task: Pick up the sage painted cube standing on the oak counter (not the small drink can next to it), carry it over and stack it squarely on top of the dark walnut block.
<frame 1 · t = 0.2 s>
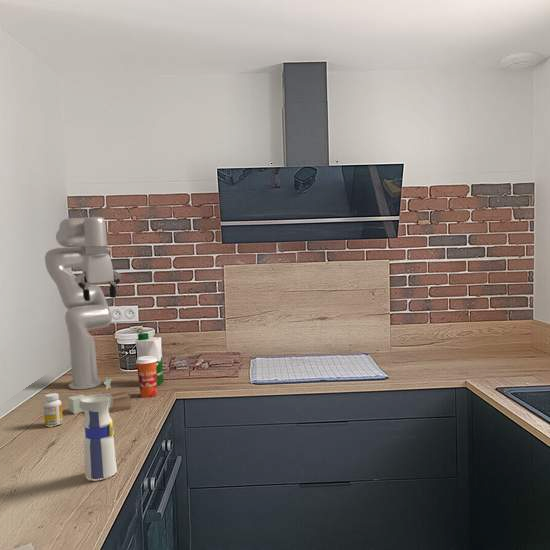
hand: (100, 299, 222), 36 cm above the worktop, tool pointing down, fingers open, 9 cm apart
milk carton: (151, 384, 242), on the worktop
sage block: (79, 411, 209), on the worktop
supplement bottle: (54, 425, 196), on the worktop
paper cup: (148, 396, 226), on the worktop
water bottle: (102, 475, 153), on the worktop
walnut block: (111, 410, 210), on the worktop
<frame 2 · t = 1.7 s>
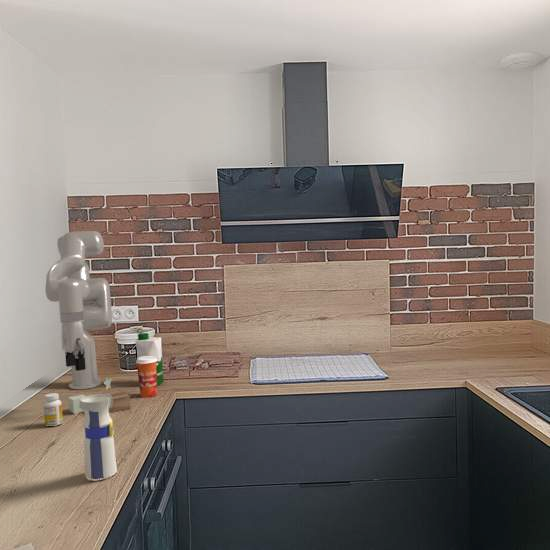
hand: (75, 367, 208), 15 cm above the worktop, tool pointing down, fingers open, 9 cm apart
nothing on the worktop moved.
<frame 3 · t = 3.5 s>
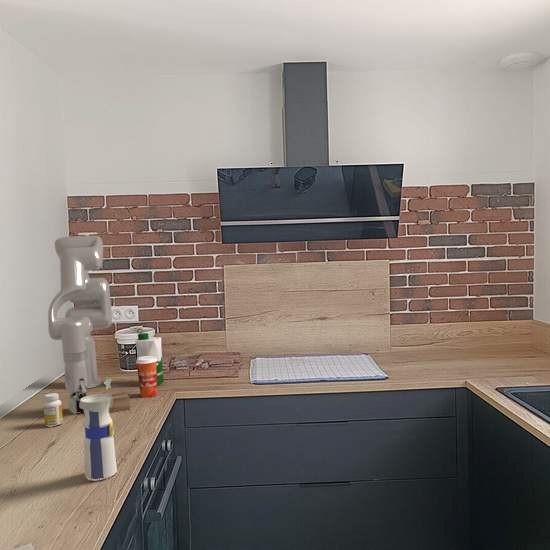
hand: (79, 409, 209), 1 cm above the worktop, tool pointing down, fingers closed on sage block, 5 cm apart
sage block: (79, 411, 209), on the worktop, touching gripper
everything else where it was.
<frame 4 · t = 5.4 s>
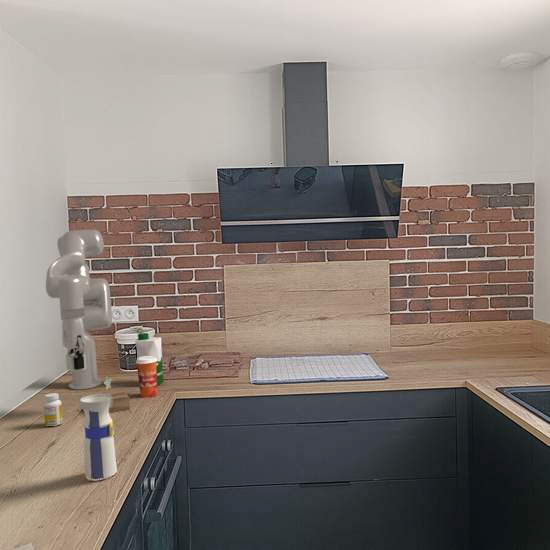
hand: (76, 367, 208), 15 cm above the worktop, tool pointing down, fingers closed on sage block, 5 cm apart
sage block: (76, 369, 208), point 14 cm above the worktop, touching gripper
everything else where it was.
when the fingers open (6 cm above the worktop, at t = 7.5 s): sage block stays where it is, resting on walnut block.
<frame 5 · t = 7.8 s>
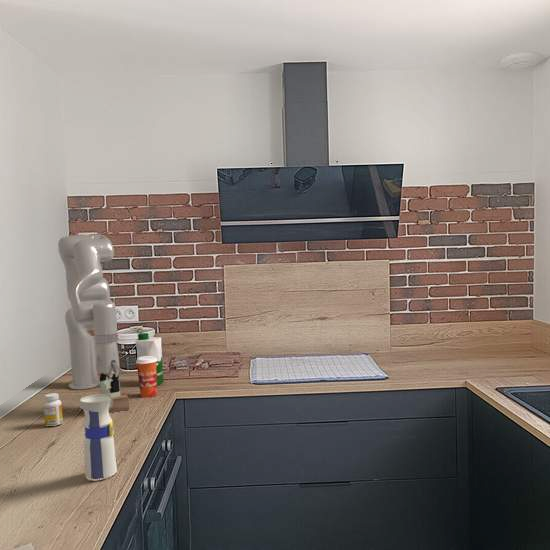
hand: (109, 389, 209), 7 cm above the worktop, tool pointing down, fingers open, 8 cm apart
sage block: (110, 395, 210), point 5 cm above the worktop, touching walnut block
walnut block: (111, 410, 210), on the worktop, touching sage block
everything else where it was.
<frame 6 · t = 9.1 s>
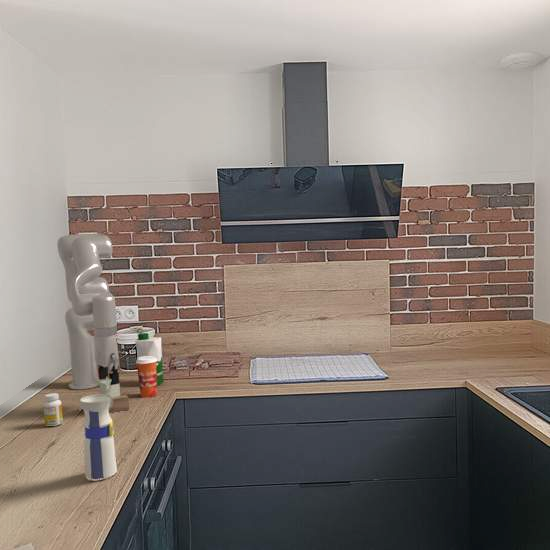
hand: (109, 381, 210), 10 cm above the worktop, tool pointing down, fingers open, 9 cm apart
nothing on the worktop moved.
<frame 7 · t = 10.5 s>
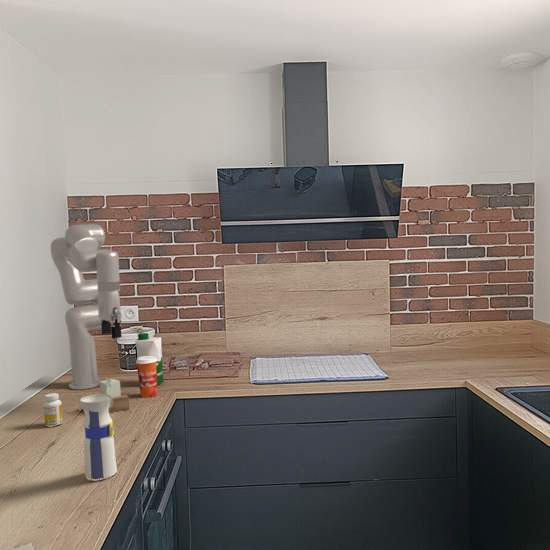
hand: (111, 335, 215), 24 cm above the worktop, tool pointing down, fingers open, 9 cm apart
sage block: (110, 395, 210), point 5 cm above the worktop
walnut block: (111, 410, 210), on the worktop
everything else where it was.
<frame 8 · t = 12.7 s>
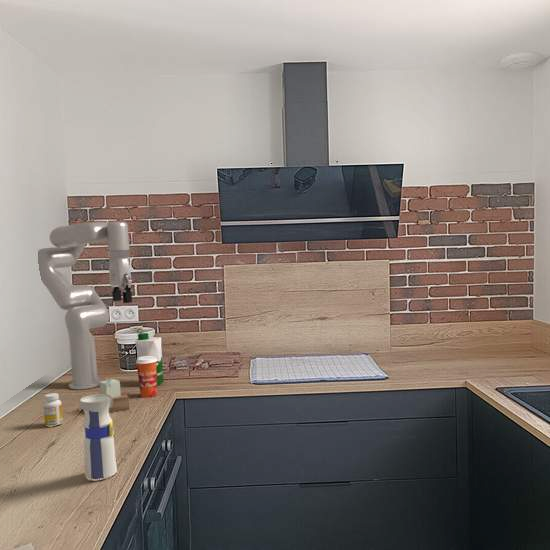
hand: (122, 301, 228), 34 cm above the worktop, tool pointing down, fingers open, 9 cm apart
sage block: (110, 396, 210), point 5 cm above the worktop, touching walnut block
walnut block: (111, 410, 210), on the worktop, touching sage block
everything else where it was.
at the end: sage block inside the target area on the walnut block (0.2 cm from its centre), point 5.0 cm above the walnut block's base; sage block tilted 0°; the gripper is holding nothing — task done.
